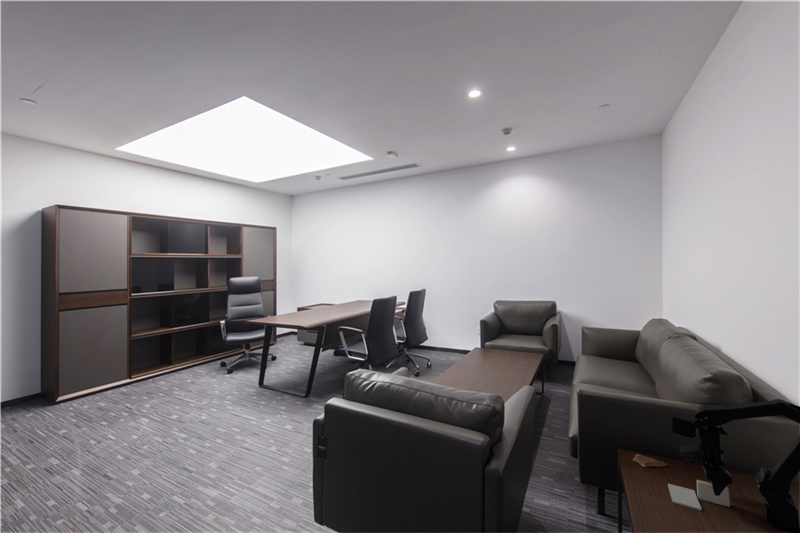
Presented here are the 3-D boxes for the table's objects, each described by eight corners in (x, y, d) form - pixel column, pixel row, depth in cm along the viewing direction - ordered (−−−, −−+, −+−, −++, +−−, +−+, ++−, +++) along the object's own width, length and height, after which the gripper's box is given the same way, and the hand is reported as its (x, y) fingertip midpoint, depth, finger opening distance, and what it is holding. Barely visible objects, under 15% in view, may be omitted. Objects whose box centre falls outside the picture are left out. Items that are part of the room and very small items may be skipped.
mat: (694, 491, 117) (693, 490, 117) (701, 510, 108) (701, 509, 108) (667, 485, 121) (667, 483, 121) (673, 502, 112) (673, 501, 112)
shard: (668, 467, 133) (667, 463, 133) (665, 475, 127) (664, 471, 127) (636, 456, 141) (636, 452, 141) (632, 464, 135) (632, 459, 135)
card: (728, 504, 110) (727, 486, 111) (729, 507, 109) (728, 489, 109) (697, 496, 115) (696, 479, 115) (698, 498, 113) (697, 481, 114)
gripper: (675, 426, 125) (677, 466, 124) (685, 449, 109) (688, 495, 109) (714, 433, 119) (717, 476, 118) (731, 458, 103) (734, 507, 102)
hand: (712, 487), depth 112 cm, fingers open, 9 cm apart
